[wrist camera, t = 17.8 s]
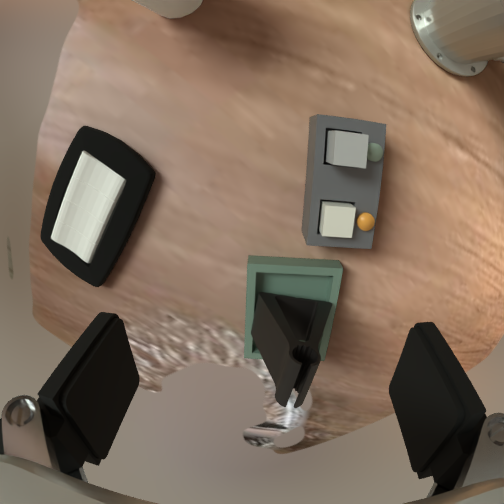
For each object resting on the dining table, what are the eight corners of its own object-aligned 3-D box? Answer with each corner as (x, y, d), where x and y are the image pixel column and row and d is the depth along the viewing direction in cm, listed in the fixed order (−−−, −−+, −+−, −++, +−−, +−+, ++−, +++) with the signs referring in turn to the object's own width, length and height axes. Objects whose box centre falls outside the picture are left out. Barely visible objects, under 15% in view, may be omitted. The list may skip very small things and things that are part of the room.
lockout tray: (338, 260, 37) (343, 268, 34) (322, 349, 42) (324, 360, 39) (248, 255, 37) (247, 263, 35) (245, 347, 42) (244, 358, 40)
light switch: (75, 115, 30) (158, 171, 31) (88, 117, 32) (168, 169, 34) (30, 242, 36) (96, 300, 37) (43, 236, 39) (106, 291, 40)
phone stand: (250, 331, 38) (244, 402, 27) (259, 290, 36) (255, 358, 25) (318, 341, 38) (332, 410, 27) (332, 302, 36) (354, 369, 25)
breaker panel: (370, 125, 30) (388, 124, 25) (358, 234, 35) (372, 251, 30) (309, 117, 31) (318, 113, 25) (301, 230, 35) (307, 247, 30)
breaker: (357, 134, 27) (368, 134, 24) (355, 164, 28) (365, 168, 25) (327, 131, 27) (335, 130, 24) (325, 161, 28) (333, 164, 25)
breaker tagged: (346, 200, 31) (355, 208, 28) (343, 227, 32) (351, 237, 29) (319, 197, 31) (325, 205, 28) (316, 225, 32) (322, 235, 29)
